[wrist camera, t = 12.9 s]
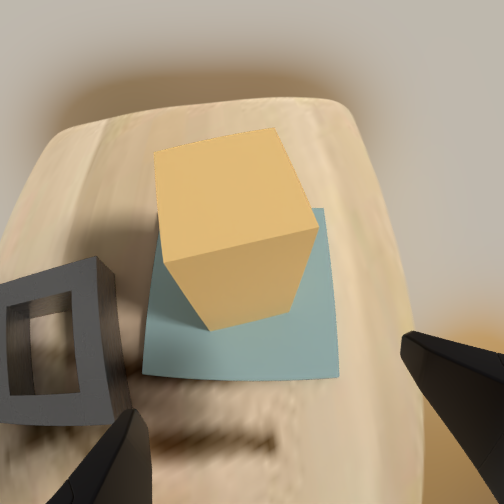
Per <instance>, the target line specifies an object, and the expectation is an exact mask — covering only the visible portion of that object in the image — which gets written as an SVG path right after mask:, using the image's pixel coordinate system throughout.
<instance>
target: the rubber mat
mask: <svg viewBox="0 0 504 504" xmlns="http://www.w3.org/2000/svg"><path fill="white" fill-rule="evenodd" d="M312 211H313V213H314V215H315V218H316V220H317V223H318V225H319V230H318V233H317V236H316V239H315V241H314V244H313V247H312V250H311V253H310V256H309V259H308V262H307V265H306V267H305V270H304V273H303V276H302V279H301V281H300V284H299V287H298V290H297V292H296V295H295V298H294V300H293V303H292V306H291V309H290V311H289V312H288V313H284V314H280V315H276V316H272V317H269V318H265V319H261V320H257V321H253V322H249V323H244V324H240V325H236V326H232V327H228V328H223V329H219V330H214V331H209V329H208V328H207V326H206V325H205V324H204V322H203V321H202V319H201V318H200V317H199V315H198V314H197V312H196V311H195V309H194V308H193V307H192V305H191V304H190V302H189V301H188V299H187V298H186V296H185V295H184V293H183V292H182V290H181V289H180V287H179V286H178V284H177V283H176V281H175V280H174V278H173V277H172V275H171V274H170V272H169V271H168V269H167V268H166V266H165V264H164V263H163V255H162V247H161V238H160V229H159V235H158V241H157V247H156V253H155V259H154V266H153V273H152V280H151V287H150V295H149V303H148V312H147V321H146V331H145V342H144V355H143V369H142V374H145V375H153V376H162V377H173V378H186V379H202V380H225V381H287V380H310V379H326V378H337V377H339V357H338V340H337V326H336V313H335V301H334V290H333V280H332V271H331V262H330V253H329V245H328V237H327V229H326V222H325V215H324V208H312Z"/></svg>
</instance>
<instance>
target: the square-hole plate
mask: <svg viewBox="0 0 504 504" xmlns="http://www.w3.org/2000/svg"><path fill="white" fill-rule="evenodd" d="M67 310H72V319H73V335H74V347H75V357H76V366H77V374H78V381H79V388H80V393H68V394H52V395H35V393H34V384H33V375H32V364H31V349H30V318H35V317H40V316H44V315H49V314H54V313H58V312H63V311H67ZM127 409H133V408H132V403H131V398H130V393H129V388H128V383H127V377H126V372H125V366H124V359H123V353H122V346H121V339H120V331H119V322H118V313H117V303H116V291H115V277H114V273H113V272H112V271H111V270H110V269H109V268H108V267H107V266H106V265H105V264H104V263H103V262H102V261H101V260H100V259H99V258H98V257H97V256H94V257H91V258H87V259H84V260H80V261H76V262H73V263H69V264H66V265H63V266H59V267H56V268H52V269H49V270H45V271H42V272H39V273H35V274H32V275H29V276H26V277H22V278H19V279H16V280H13V281H9V282H6V283H3V284H0V423H9V424H22V425H42V426H86V425H107V424H113V423H114V421H115V420H116V419H117V418H118V417H119V415H120V414H121V413H122V412H123V411H124V410H127Z"/></svg>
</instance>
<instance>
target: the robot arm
mask: <svg viewBox="0 0 504 504" xmlns="http://www.w3.org/2000/svg"><path fill="white" fill-rule="evenodd" d="M400 355H401V358H402V360H403V362H404V364H405V365H406V367H407V369H408V370H409V372H410V374H411V376H412V377H413V379H414V381H415V382H416V384H417V386H418V387H419V389H420V391H421V392H422V393H423V395H424V396H425V397H426V399H427V400H428V401H429V403H430V404H431V406H432V407H433V408H434V410H435V411H436V412H437V414H438V415H439V416H440V418H441V419H442V420H443V422H444V423H445V425H446V426H447V427H448V429H449V430H450V432H451V433H452V434H453V436H454V437H455V439H456V440H457V441H458V443H459V444H460V446H461V447H462V449H463V450H464V451H465V453H466V454H467V456H468V457H469V459H470V460H471V461H472V463H473V464H474V466H475V468H476V469H477V470H478V472H479V474H480V475H481V477H482V478H483V480H484V481H485V483H486V484H487V486H488V487H489V489H490V490H491V492H492V494H493V495H494V497H495V498H496V500H497V501H498V503H499V504H504V354H501V353H496V352H493V351H488V350H485V349H481V348H477V347H473V346H468V345H465V344H461V343H457V342H454V341H450V340H446V339H442V338H439V337H435V336H431V335H427V334H424V333H420V332H416V331H410V332H408V333H406V334H404V335H403V336H402V341H401V351H400ZM46 504H152V464H151V454H150V444H149V433H148V427H147V425H146V423H145V421H144V420H143V418H142V417H141V415H140V414H139V412H138V411H137V410H136V409H127V410H124V411H123V412H122V413H121V414H120V415H119V417H118V418H117V419H116V420H115V421H114V423H113V424H112V425H111V426H110V428H109V429H108V430H107V431H106V432H105V434H104V435H103V436H102V437H101V439H100V440H99V441H98V442H97V444H96V445H95V446H94V447H93V448H92V450H91V451H90V452H89V453H88V455H87V456H86V457H85V458H84V459H83V461H82V462H81V463H80V464H79V466H78V467H77V468H76V469H75V470H74V472H73V473H72V474H71V475H70V477H69V479H67V480H66V481H65V483H64V484H63V485H62V486H61V487H60V489H59V490H58V491H57V492H56V493H55V494H54V495H53V497H52V498H51V499H50V500H49V501H48V502H47V503H46Z"/></svg>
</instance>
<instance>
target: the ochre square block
mask: <svg viewBox="0 0 504 504" xmlns="http://www.w3.org/2000/svg"><path fill="white" fill-rule="evenodd" d="M154 166H155V182H156V195H157V207H158V218H159V228H160V238H161V247H162V255H163V263H164V264H165V266H166V268H167V269H168V271H169V272H170V274H171V275H172V277H173V278H174V280H175V281H176V283H177V284H178V286H179V287H180V289H181V290H182V292H183V293H184V295H185V296H186V298H187V299H188V301H189V302H190V304H191V305H192V307H193V308H194V309H195V311H196V312H197V314H198V315H199V317H200V318H201V319H202V321H203V322H204V324H205V325H206V326H207V328H208V329H209V331H214V330H219V329H223V328H228V327H232V326H236V325H240V324H244V323H249V322H253V321H257V320H261V319H265V318H269V317H272V316H276V315H280V314H284V313H288V312H289V311H290V309H291V306H292V303H293V300H294V298H295V295H296V292H297V290H298V287H299V284H300V281H301V279H302V276H303V273H304V270H305V267H306V265H307V262H308V259H309V256H310V253H311V250H312V247H313V244H314V241H315V239H316V236H317V233H318V230H319V225H318V223H317V220H316V218H315V215H314V213H313V211H312V208H311V206H310V204H309V201H308V199H307V197H306V195H305V192H304V190H303V188H302V186H301V183H300V181H299V179H298V177H297V174H296V172H295V170H294V168H293V166H292V164H291V161H290V159H289V157H288V155H287V153H286V151H285V149H284V147H283V144H282V142H281V140H280V138H279V136H278V134H277V132H276V130H275V128H268V129H262V130H255V131H249V132H244V133H238V134H233V135H227V136H222V137H217V138H212V139H208V140H203V141H198V142H194V143H190V144H185V145H181V146H177V147H173V148H169V149H165V150H161V151H157V152H154Z"/></svg>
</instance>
